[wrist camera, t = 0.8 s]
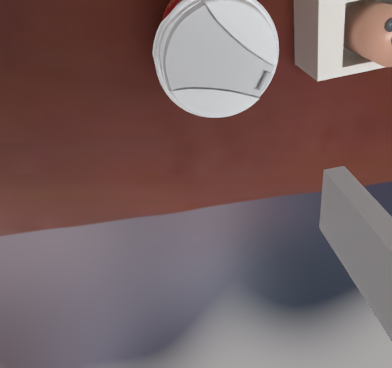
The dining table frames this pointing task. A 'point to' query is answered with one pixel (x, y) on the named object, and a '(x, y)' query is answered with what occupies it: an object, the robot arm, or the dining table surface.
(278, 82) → the dining table surface
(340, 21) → the panel
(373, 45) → the button three
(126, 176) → the dining table surface
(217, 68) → the coffee cup
